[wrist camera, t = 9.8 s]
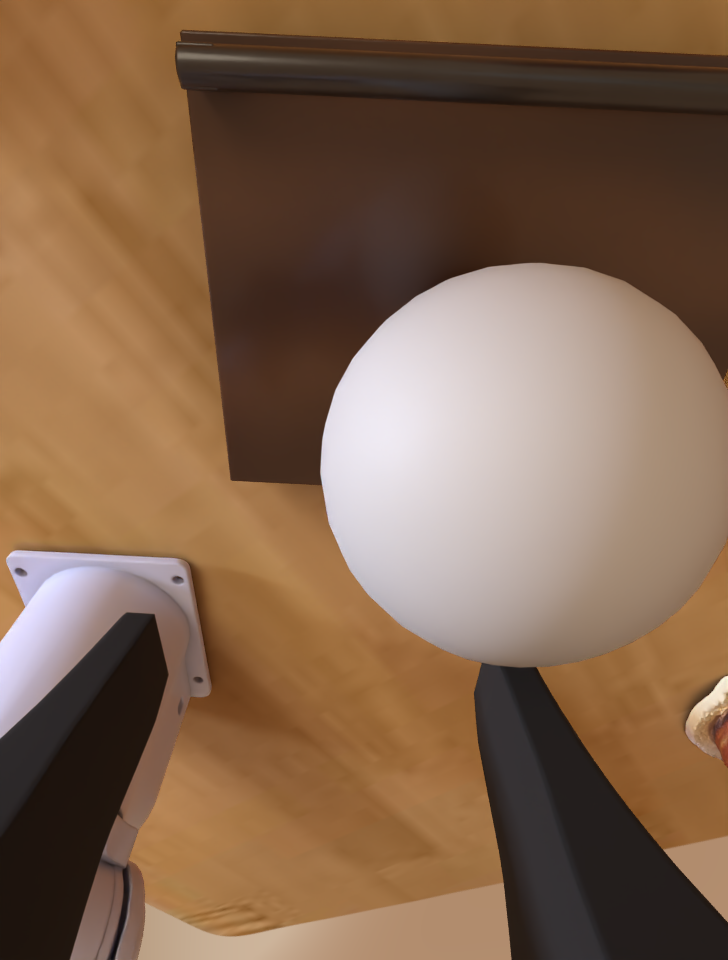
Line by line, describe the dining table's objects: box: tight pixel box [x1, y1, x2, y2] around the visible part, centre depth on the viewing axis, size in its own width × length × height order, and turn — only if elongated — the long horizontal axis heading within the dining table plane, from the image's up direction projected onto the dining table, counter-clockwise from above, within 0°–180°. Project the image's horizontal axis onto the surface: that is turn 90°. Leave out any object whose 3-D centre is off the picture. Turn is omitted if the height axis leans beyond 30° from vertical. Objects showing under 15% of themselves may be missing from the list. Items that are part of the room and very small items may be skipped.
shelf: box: [175, 30, 728, 485], centre depth 16 cm, size 12×15×4 cm
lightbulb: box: [320, 263, 728, 668], centre depth 11 cm, size 6×6×11 cm
